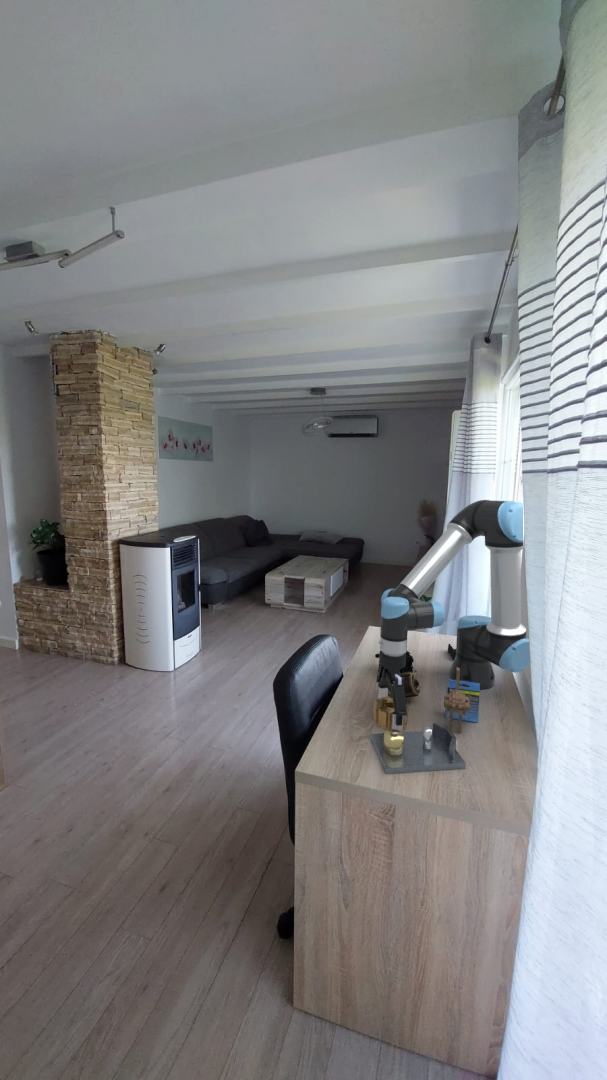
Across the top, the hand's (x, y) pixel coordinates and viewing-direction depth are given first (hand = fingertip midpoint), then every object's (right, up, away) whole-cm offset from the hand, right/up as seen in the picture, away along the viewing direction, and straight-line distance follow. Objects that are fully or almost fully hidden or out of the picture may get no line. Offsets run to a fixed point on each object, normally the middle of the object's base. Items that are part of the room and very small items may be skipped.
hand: (389, 720), depth 125 cm
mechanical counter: (+6, +1, +12) cm, 13 cm away
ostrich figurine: (+16, -2, -9) cm, 19 cm away
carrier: (+4, -2, -14) cm, 15 cm away
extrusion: (+8, +4, +30) cm, 32 cm away
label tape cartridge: (+22, 0, +3) cm, 22 cm away
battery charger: (+41, +5, +46) cm, 62 cm away
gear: (0, 0, 0) cm, 0 cm away
